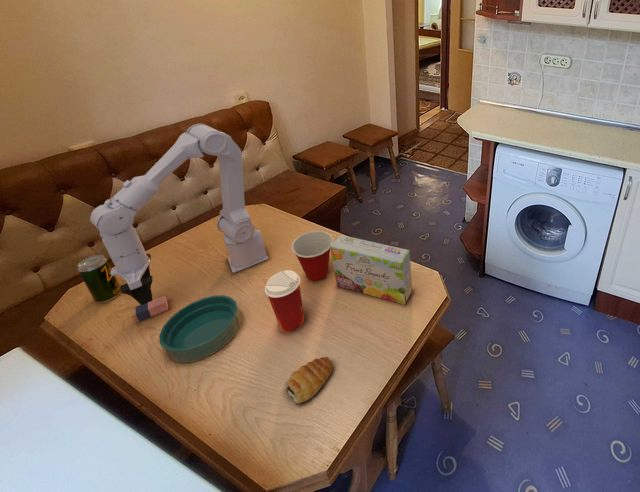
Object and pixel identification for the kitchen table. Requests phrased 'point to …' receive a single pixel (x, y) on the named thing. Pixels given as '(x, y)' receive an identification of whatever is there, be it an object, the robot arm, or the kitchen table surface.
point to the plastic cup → (313, 253)
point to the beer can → (99, 278)
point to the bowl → (200, 328)
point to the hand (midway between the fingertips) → (146, 292)
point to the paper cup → (286, 299)
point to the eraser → (151, 308)
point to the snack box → (372, 268)
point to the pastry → (309, 379)
